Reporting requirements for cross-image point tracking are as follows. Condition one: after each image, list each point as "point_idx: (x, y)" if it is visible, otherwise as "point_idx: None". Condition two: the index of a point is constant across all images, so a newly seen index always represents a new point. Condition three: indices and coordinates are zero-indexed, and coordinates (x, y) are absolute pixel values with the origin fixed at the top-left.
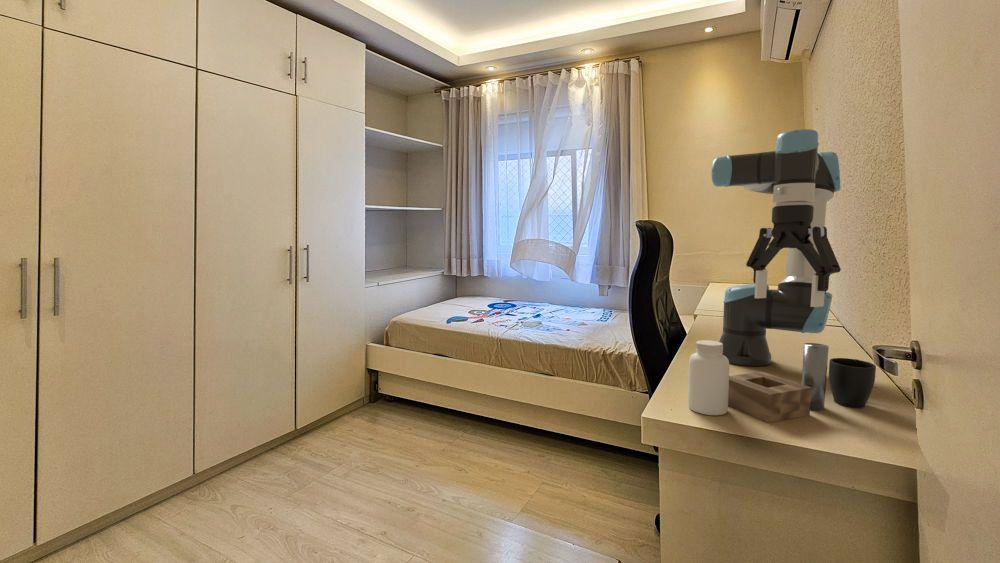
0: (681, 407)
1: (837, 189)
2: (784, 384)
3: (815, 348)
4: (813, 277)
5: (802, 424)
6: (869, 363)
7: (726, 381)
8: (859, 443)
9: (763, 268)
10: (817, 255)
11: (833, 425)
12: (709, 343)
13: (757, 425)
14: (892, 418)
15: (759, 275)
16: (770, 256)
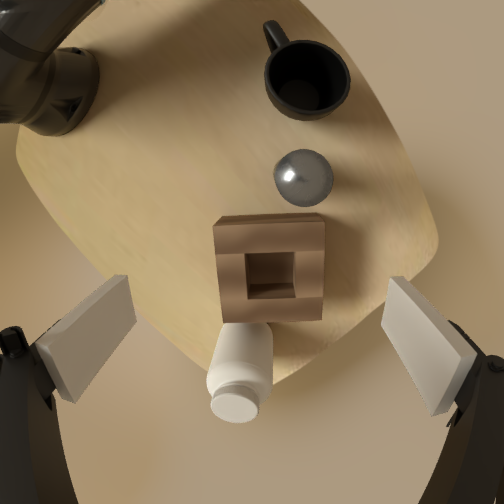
0: None
1: None
2: (291, 251)
3: (319, 201)
4: (432, 407)
5: (336, 257)
6: (320, 46)
7: (271, 361)
8: (399, 242)
9: (32, 360)
10: (489, 479)
11: (355, 217)
12: (239, 413)
13: None
14: (364, 104)
15: (84, 380)
16: (54, 466)
